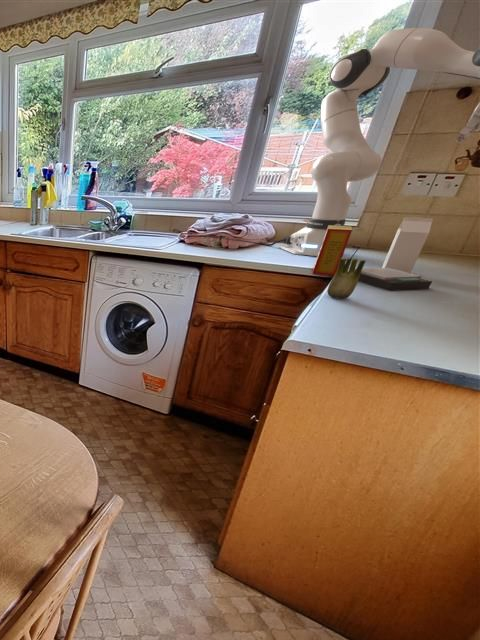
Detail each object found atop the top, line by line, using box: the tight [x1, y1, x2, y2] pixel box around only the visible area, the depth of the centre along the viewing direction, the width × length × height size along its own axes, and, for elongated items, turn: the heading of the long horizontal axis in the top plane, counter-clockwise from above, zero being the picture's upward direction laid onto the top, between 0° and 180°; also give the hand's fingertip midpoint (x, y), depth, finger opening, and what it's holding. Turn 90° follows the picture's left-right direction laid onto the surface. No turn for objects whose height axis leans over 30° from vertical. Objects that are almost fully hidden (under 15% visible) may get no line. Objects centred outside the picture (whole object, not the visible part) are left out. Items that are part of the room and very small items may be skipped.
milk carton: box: [381, 216, 434, 274], centre depth 149 cm, size 7×7×19 cm
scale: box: [354, 267, 433, 291], centre depth 143 cm, size 16×13×3 cm
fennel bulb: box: [327, 257, 367, 300], centre depth 129 cm, size 6×5×12 cm
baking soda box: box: [312, 225, 353, 277], centre depth 155 cm, size 10×6×16 cm
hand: (460, 138), depth 136 cm, fingers open, 8 cm apart
